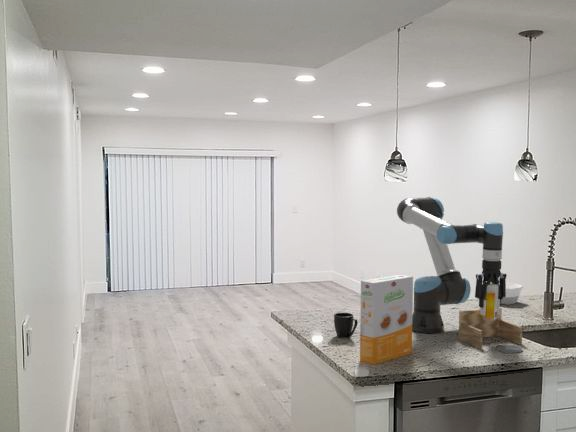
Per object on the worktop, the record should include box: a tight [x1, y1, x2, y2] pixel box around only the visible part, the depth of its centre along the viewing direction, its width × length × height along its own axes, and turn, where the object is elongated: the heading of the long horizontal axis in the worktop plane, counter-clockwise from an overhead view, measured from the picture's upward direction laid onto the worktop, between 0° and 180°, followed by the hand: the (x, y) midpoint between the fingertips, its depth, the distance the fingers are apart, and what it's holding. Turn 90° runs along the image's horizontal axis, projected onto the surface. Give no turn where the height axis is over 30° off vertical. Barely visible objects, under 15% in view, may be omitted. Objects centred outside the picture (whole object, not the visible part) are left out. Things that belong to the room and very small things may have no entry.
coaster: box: [495, 344, 523, 354], centre depth 231 cm, size 10×10×1 cm
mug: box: [333, 312, 359, 339], centre depth 248 cm, size 8×12×10 cm
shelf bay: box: [458, 307, 523, 349], centre depth 243 cm, size 20×14×12 cm
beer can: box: [482, 282, 498, 321], centre depth 242 cm, size 6×6×15 cm
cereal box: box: [359, 274, 414, 365], centre depth 221 cm, size 22×6×30 cm, turn 129°
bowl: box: [501, 282, 524, 305], centre depth 321 cm, size 18×18×9 cm
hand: (489, 314), depth 243 cm, fingers closed on beer can, 6 cm apart
